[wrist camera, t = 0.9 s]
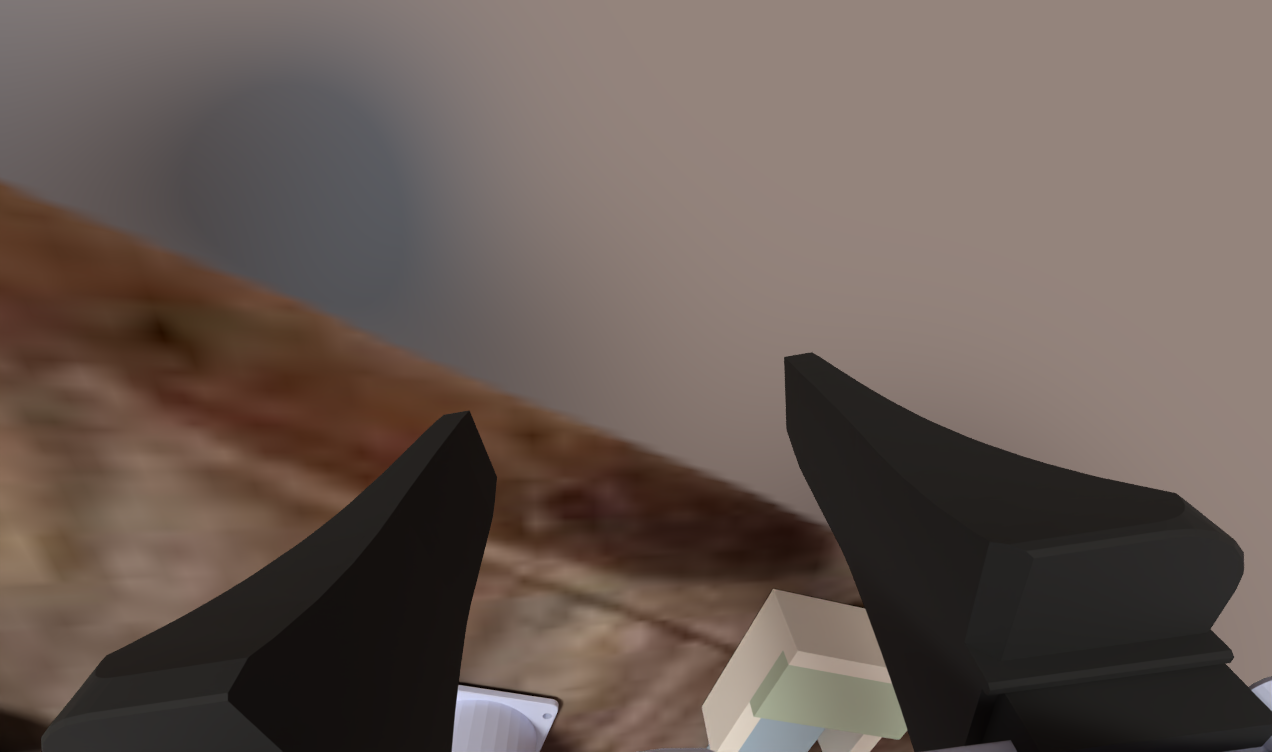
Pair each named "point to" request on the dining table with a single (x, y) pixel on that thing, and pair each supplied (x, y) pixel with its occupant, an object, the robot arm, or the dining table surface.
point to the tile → (780, 737)
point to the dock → (806, 677)
